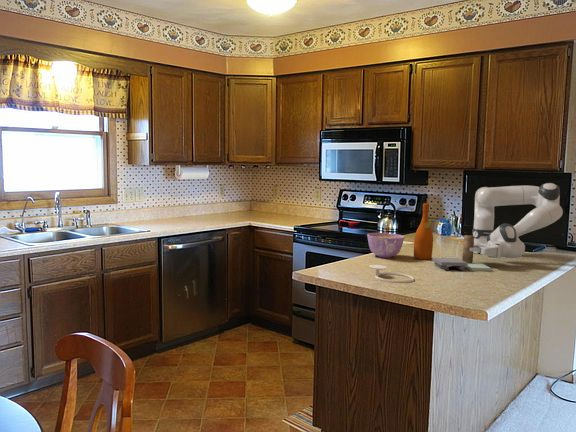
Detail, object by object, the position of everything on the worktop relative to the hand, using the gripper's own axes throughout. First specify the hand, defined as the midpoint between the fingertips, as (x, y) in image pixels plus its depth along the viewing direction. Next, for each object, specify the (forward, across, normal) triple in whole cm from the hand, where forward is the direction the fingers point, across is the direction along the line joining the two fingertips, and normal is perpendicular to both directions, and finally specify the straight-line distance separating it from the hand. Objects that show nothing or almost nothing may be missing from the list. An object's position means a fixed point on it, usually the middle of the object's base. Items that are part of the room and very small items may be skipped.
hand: (466, 248), depth 254 cm
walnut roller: (-1, 0, +8) cm, 8 cm away
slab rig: (+13, +11, +8) cm, 19 cm away
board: (-1, +11, +8) cm, 14 cm away
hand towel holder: (+49, +36, +9) cm, 61 cm away
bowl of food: (+38, -16, +9) cm, 43 cm away
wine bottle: (+18, -13, +9) cm, 24 cm away
